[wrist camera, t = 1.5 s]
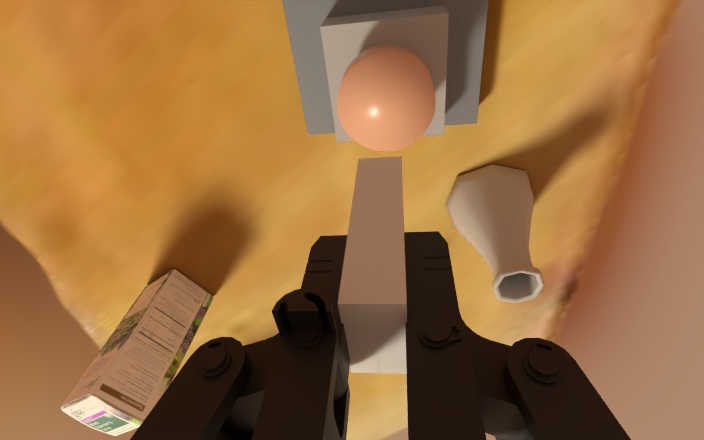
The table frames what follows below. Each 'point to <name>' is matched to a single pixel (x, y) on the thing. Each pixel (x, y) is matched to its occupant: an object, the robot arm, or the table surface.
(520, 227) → the flask
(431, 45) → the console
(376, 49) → the button terracotta
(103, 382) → the syrup box
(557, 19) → the table surface
